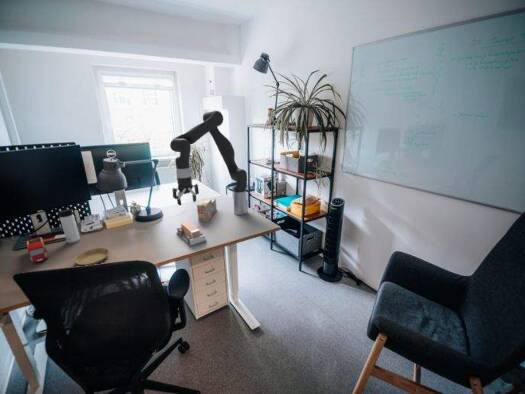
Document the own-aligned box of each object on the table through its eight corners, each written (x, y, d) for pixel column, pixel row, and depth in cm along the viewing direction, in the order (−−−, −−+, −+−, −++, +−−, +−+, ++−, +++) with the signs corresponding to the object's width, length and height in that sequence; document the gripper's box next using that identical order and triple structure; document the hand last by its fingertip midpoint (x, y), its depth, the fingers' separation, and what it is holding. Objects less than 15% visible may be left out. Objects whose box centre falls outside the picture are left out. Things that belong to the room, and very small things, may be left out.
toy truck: (32, 266, 121) (25, 249, 118) (30, 250, 135) (24, 234, 132) (50, 261, 126) (44, 243, 122) (46, 246, 140) (40, 230, 136)
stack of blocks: (208, 209, 189) (207, 194, 185) (216, 210, 188) (215, 194, 184) (198, 221, 169) (196, 204, 165) (207, 222, 168) (205, 205, 164)
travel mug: (70, 245, 140) (60, 212, 134) (65, 242, 144) (55, 210, 137) (82, 240, 145) (73, 209, 139) (77, 237, 149) (68, 206, 142)
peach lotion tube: (189, 230, 155) (188, 221, 153) (200, 239, 143) (199, 230, 141) (182, 232, 152) (180, 223, 150) (193, 242, 140) (192, 232, 138)
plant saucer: (94, 270, 118) (93, 265, 118) (68, 267, 121) (66, 262, 120) (116, 253, 132) (115, 249, 131) (92, 251, 135) (91, 246, 134)
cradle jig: (191, 228, 158) (191, 223, 157) (206, 241, 143) (206, 235, 142) (176, 233, 152) (175, 227, 151) (190, 246, 137) (189, 240, 136)
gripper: (193, 172, 142) (196, 198, 147) (168, 176, 134) (172, 204, 139) (199, 174, 136) (201, 202, 142) (173, 179, 128) (177, 208, 133)
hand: (187, 203), depth 140 cm, fingers open, 8 cm apart
